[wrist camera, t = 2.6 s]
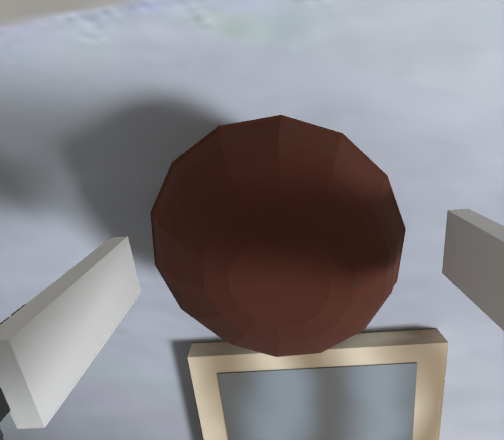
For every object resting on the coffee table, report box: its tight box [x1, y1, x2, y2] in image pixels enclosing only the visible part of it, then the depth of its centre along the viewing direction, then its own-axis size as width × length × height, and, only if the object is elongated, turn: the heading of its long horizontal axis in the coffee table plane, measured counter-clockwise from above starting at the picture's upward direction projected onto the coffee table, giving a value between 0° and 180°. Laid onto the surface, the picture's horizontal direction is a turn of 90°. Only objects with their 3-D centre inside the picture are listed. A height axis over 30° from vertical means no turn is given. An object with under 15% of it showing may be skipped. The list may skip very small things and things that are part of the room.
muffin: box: [151, 115, 406, 357], centre depth 16 cm, size 12×11×10 cm
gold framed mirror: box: [187, 329, 448, 440], centre depth 26 cm, size 18×18×2 cm
